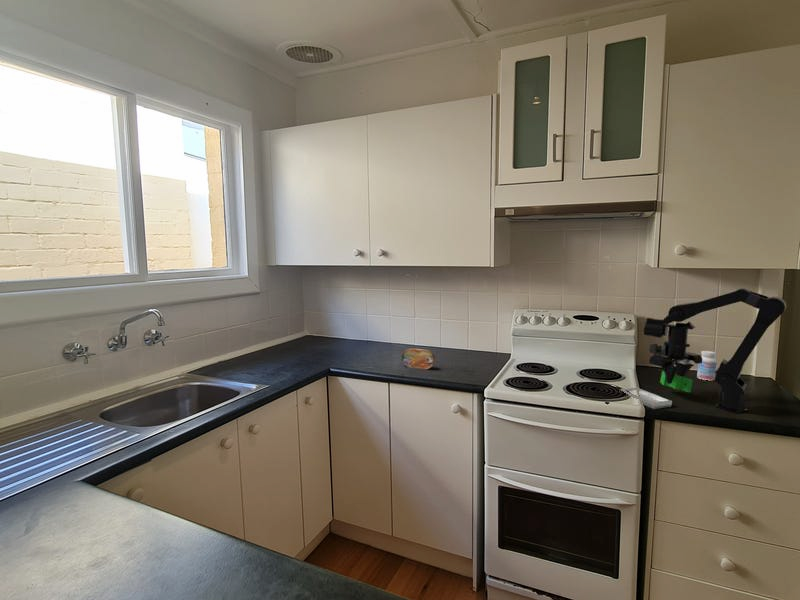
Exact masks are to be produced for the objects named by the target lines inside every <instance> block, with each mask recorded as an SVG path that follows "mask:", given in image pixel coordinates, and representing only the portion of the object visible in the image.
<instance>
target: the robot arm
mask: <svg viewBox="0 0 800 600" xmlns="http://www.w3.org/2000/svg"><path fill="white" fill-rule="evenodd" d="M736 303H744V304H746V305H748V306H751V307H753V308H756V309H758V312H757V315H756V318H755V321H754V322H753V324H752V326H751V328H750V329H749V330H748V333H747V334H746V335H745V337H744V338H743V340H742V341H741V342H740V345H739V346H738V348H737V349H736V351H735V352H734V354H733V355H732V357H731V358H730V359H729V360H726V358H723V360H722V361H720V363H719V367H717V368H716V371H715V373H716V374H715V381H716V383H717V385H719V386H720V387H721V388H720V391H719V393H718V401H717V403H718V404H715V408H719V409H721V410H725V411H727V412H731V413H734V414H737V413H745V412H749V408H746V404H747V403H746V402H747V394H748V393H747V392H745V389H746V387H747V385H748V383H746V382H745V381H744V380H743V379H742V378H741V374H742V371H743V368H744V366H745V362H747V360H748V359H749V357H750V355H751V354H752V352H753V351H754V350H755V347H756V346H757V345H758V343H759V341H761V339H762V337H763V336H764V334H765V333H766V331H767V330H768V328H769V327H770V326H771V325H772V324H773V323H774V322H776V320H777V319H779V318H780V316H781V315H782V314H783V313H784V312H785V310H786V309H787V303H786V301H785V300H784V299H783V298H782V297H779V296H767V295H764V294H761V293H757V292H756V291H755V292H754V291H751V290H749V289H747V288H738V289H737V290H735V291H730V292H728V293H724V294H721V295H717V296H714V297H711V298H707V299H704V300H700V301H695V302H685V303H679V304H676V305H674V306H671V307H670V308H669V310H668V314H667V315H666V317H664V318H663V319H662V318H661V319H660V318H654V317H647V318H646V321H645V324H644V327H643V335H644V336H645V337H652V338H660V339H663V338H664V337H666V336H667V341H664V342H663V345H658V344H657V343H654V344H650V345H649V352H650V353H651V354H653V355H651V356H649V358H648V363H649V364H651V365H653V366H657V367H661V368H662V371H664V373H665V376H666V379H667V382H668V383H669V384H671V383H672V381H673V378H674V375H679V376H682V377H685V376H686V375H687V373H688V372H690V370H691V369H692V368H693V367H694V365H695V364H696V365H697V364H699V363H702V357H701V356H702V355H701V354H697V353H693V352H690V351H687V348H690V345H691V344H690V343H688V336H689V335H688V333H689V330H694V329H696V326H695V325H693V324H692V322H691V321H687V320H688V319H691V318H692V317H695V316H698V315H699V314H701V313H704V312H709V311H712V310H715V309H718V308H721V307H725V306H729V305H733V304H736ZM684 321H687V323H684ZM674 322H675V324H672V323H674ZM691 361H692V362H694V364H692V363H691Z"/></svg>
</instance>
